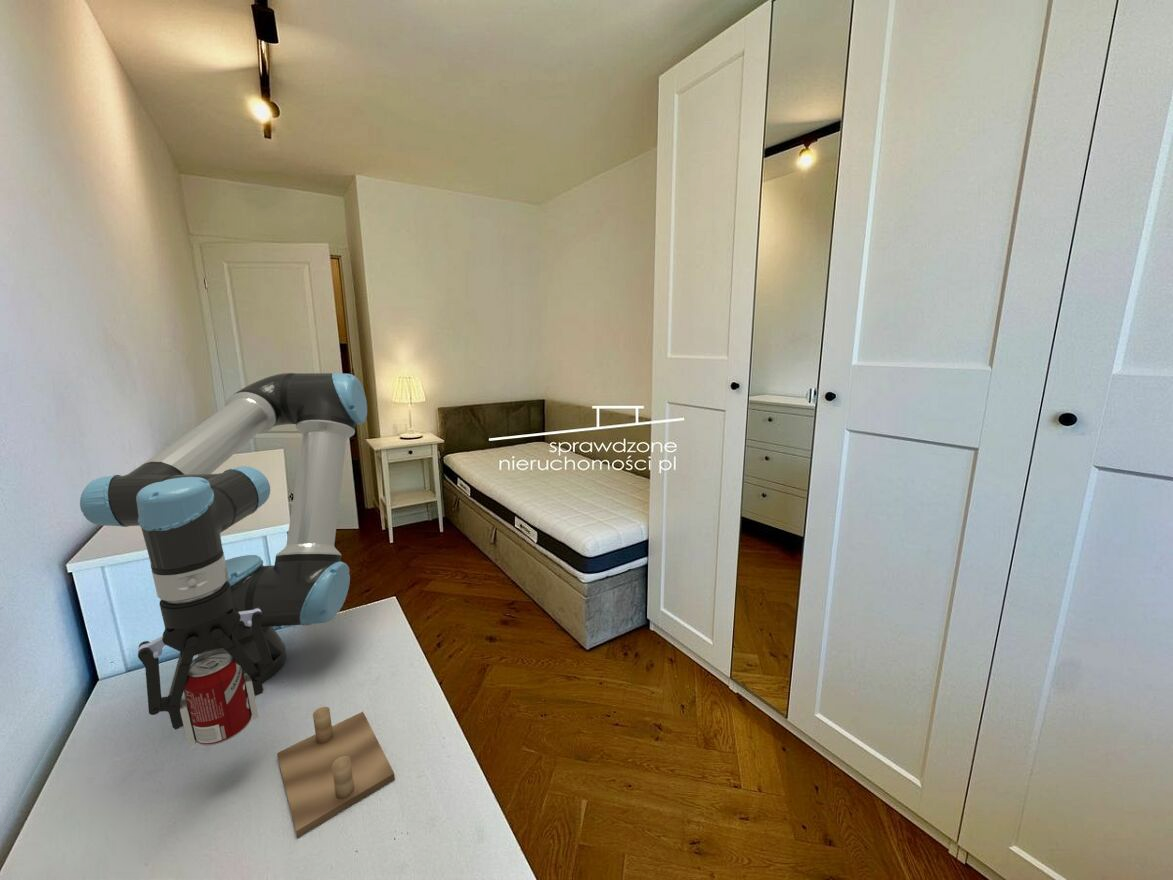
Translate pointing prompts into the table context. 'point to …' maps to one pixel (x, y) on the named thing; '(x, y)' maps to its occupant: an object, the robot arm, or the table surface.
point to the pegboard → (332, 769)
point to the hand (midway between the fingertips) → (224, 726)
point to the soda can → (216, 697)
